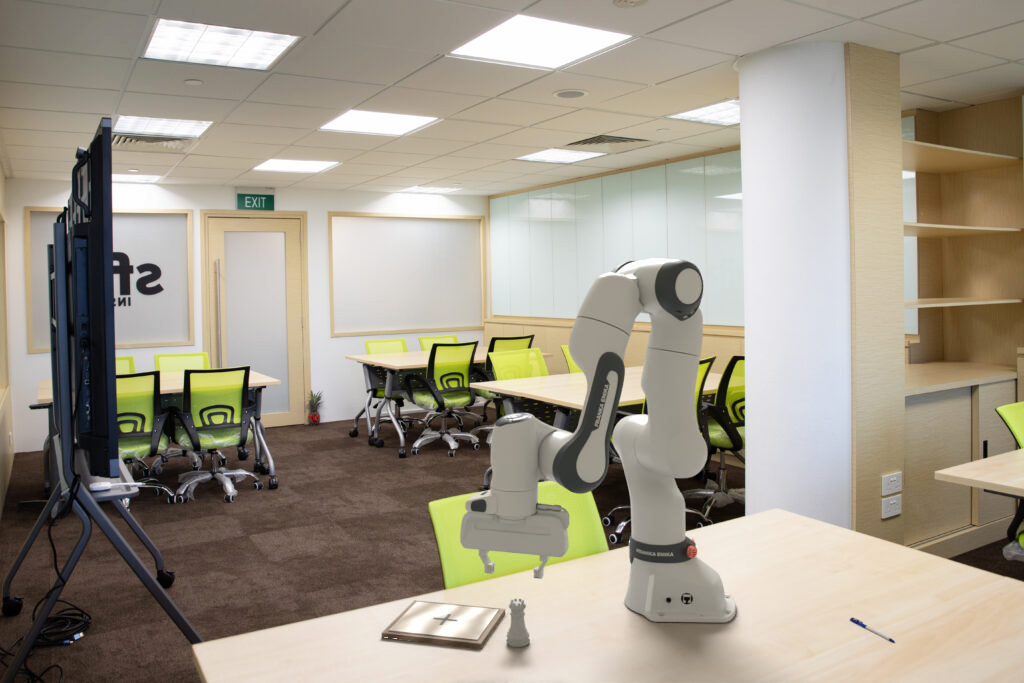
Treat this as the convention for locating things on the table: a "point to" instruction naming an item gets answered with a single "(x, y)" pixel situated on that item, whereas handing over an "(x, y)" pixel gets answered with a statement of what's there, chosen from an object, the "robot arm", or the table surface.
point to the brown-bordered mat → (445, 624)
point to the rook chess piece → (517, 625)
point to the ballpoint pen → (870, 629)
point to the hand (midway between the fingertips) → (513, 575)
